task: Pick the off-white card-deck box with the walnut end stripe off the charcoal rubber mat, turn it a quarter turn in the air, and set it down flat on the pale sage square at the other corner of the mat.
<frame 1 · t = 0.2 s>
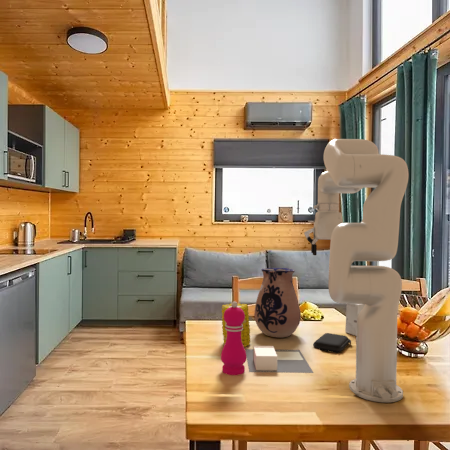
hand: (327, 255, 142), 31 cm above the table, tool pointing down, fingers open, 9 cm apart
pepper mill: (233, 373, 109), on the table
mat: (276, 361, 118), on the table
food: (235, 345, 134), on the table
carrying case or bag: (333, 347, 134), on the table
deck box: (264, 364, 114), point 1 cm above the table, touching mat
skincare box: (355, 334, 150), on the table
ceramic pitcher: (278, 334, 149), on the table
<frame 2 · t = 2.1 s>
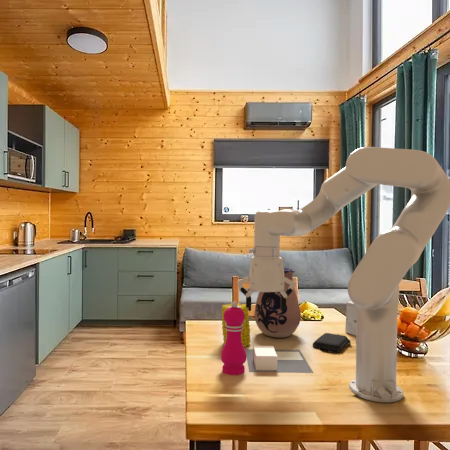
hand: (265, 310, 114), 16 cm above the table, tool pointing down, fingers open, 9 cm apart
nothing on the table moved.
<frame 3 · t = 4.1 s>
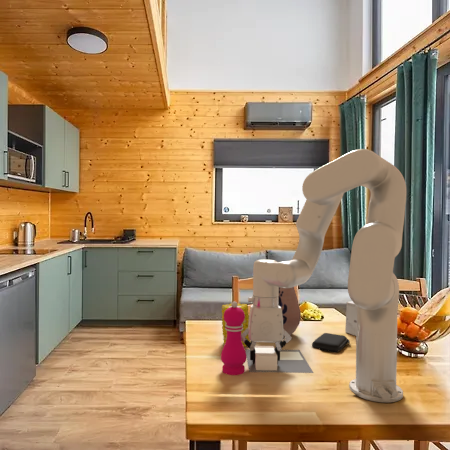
hand: (264, 362, 114), 1 cm above the table, tool pointing down, fingers closed on deck box, 6 cm apart
deck box: (264, 364, 114), point 1 cm above the table, touching gripper, mat
everything else where it was.
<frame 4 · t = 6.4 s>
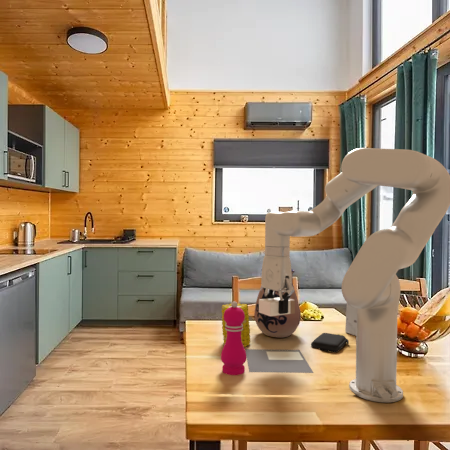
hand: (276, 310, 118), 15 cm above the table, tool pointing down, fingers closed on deck box, 6 cm apart
deck box: (276, 312, 118), point 15 cm above the table, touching gripper
everything else where it was.
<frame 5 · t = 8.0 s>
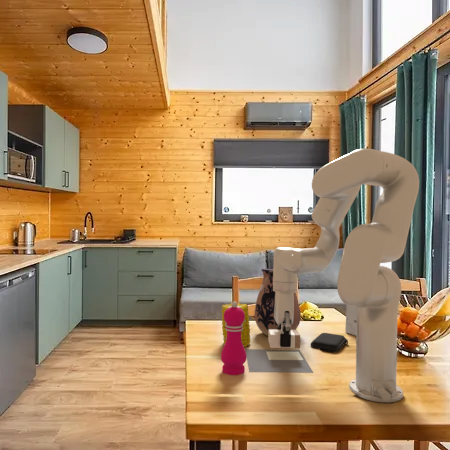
hand: (283, 342, 122), 5 cm above the table, tool pointing down, fingers closed on deck box, 6 cm apart
deck box: (283, 344, 122), point 4 cm above the table, touching gripper
when the fingers open (2 cm above the table, at t = 9.0 s): deck box stays where it is, resting on mat.
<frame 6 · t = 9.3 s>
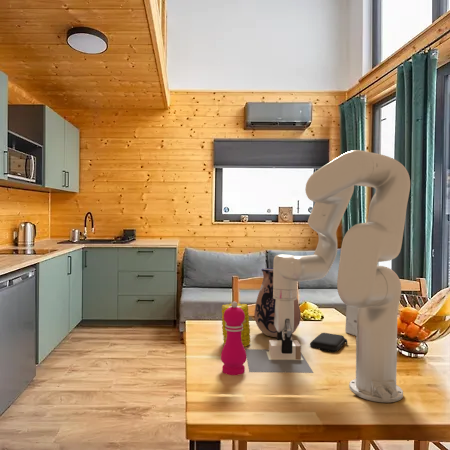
hand: (284, 348, 122), 3 cm above the table, tool pointing down, fingers open, 9 cm apart
deck box: (284, 355, 122), point 1 cm above the table, touching mat
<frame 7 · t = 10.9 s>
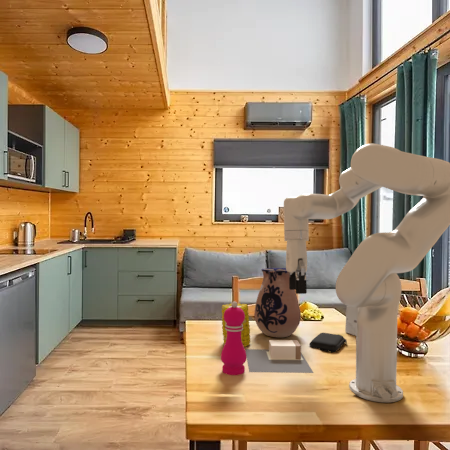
hand: (297, 291, 120), 21 cm above the table, tool pointing down, fingers open, 9 cm apart
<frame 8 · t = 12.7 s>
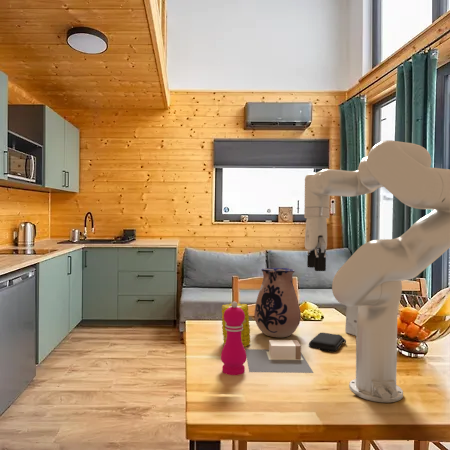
hand: (316, 269, 119), 28 cm above the table, tool pointing down, fingers open, 9 cm apart
at the end: deck box 0.1 cm from the target spot on the mat, point 0.5 cm above the mat's base; deck box tilted 0°; the gripper is holding nothing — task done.
